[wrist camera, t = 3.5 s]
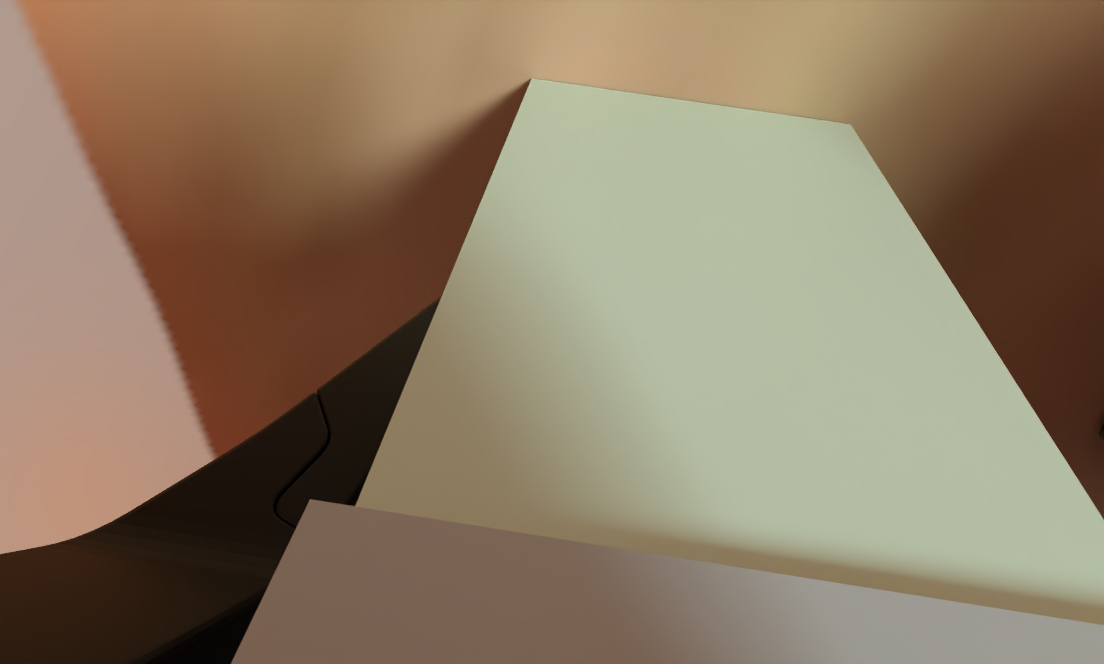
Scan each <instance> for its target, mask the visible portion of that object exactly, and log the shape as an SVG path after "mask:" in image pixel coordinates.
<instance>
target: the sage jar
mask: <svg viewBox="0 0 1104 664" xmlns="http://www.w3.org/2000/svg"><path fill="white" fill-rule="evenodd" d="M231 664H1104V519H1103V518H1102V516H1101V515H1100V513H1099V512H1098V510H1097V508H1096V507H1095V505H1094V504H1093V502H1092V501H1091V499H1090V498H1089V496H1088V494H1087V493H1086V491H1085V490H1084V488H1083V487H1082V485H1081V483H1080V482H1079V480H1078V479H1077V477H1076V476H1075V474H1074V473H1073V471H1072V469H1071V468H1070V466H1069V465H1068V463H1067V462H1066V460H1065V458H1064V457H1063V455H1062V454H1061V452H1060V451H1059V449H1058V448H1057V446H1056V444H1055V443H1054V441H1053V440H1052V438H1051V437H1050V435H1049V433H1048V432H1047V430H1046V429H1045V427H1044V426H1043V424H1042V423H1041V421H1040V419H1039V418H1038V416H1037V415H1036V413H1035V412H1034V410H1033V408H1032V407H1031V405H1030V404H1029V402H1028V401H1027V399H1026V398H1025V396H1024V394H1023V393H1022V391H1021V390H1020V388H1019V387H1018V385H1017V384H1016V382H1015V380H1014V379H1013V377H1012V376H1011V374H1010V373H1009V371H1008V369H1007V368H1006V366H1005V365H1004V363H1003V362H1002V360H1001V359H1000V357H999V355H998V354H997V352H996V351H995V349H994V348H993V346H992V344H991V343H990V341H989V340H988V338H987V337H986V335H985V334H984V332H983V330H982V329H981V327H980V326H979V324H978V323H977V321H976V319H975V318H974V316H973V315H972V313H971V312H970V310H969V309H968V307H967V305H966V304H965V302H964V301H963V299H962V298H961V296H960V294H959V293H958V291H957V290H956V288H955V287H954V285H953V284H952V282H951V280H950V279H949V277H948V276H947V274H946V273H945V271H944V269H943V268H942V266H941V265H940V263H939V262H938V260H937V259H936V257H935V255H934V254H933V252H932V251H931V249H930V248H929V246H928V244H927V243H926V241H925V240H924V238H923V237H922V235H921V234H920V232H919V230H918V229H917V227H916V226H915V224H914V223H913V221H912V220H911V218H910V216H909V215H908V213H907V212H906V210H905V209H904V207H903V205H902V204H901V202H900V201H899V199H898V198H897V196H896V195H895V193H894V191H893V190H892V188H891V187H890V185H889V184H888V182H887V180H886V179H885V177H884V176H883V174H882V173H881V171H880V170H879V168H878V166H877V165H876V163H875V162H874V160H873V159H872V157H871V155H870V154H869V152H868V151H867V149H866V148H865V146H864V145H863V143H862V141H861V140H860V138H859V137H858V135H857V134H856V132H855V130H854V129H853V127H852V126H851V124H845V123H838V122H831V121H824V120H818V119H811V118H804V117H797V116H790V115H783V114H776V113H769V112H762V111H755V110H748V109H741V108H734V107H727V106H720V105H713V104H706V103H699V102H692V101H686V100H679V99H672V98H665V97H658V96H651V95H644V94H637V93H630V92H623V91H616V90H609V89H602V88H595V87H588V86H581V85H574V84H567V83H560V82H554V81H547V80H540V79H533V78H532V79H531V81H530V84H529V86H528V88H527V91H526V93H525V96H524V98H523V101H522V103H521V105H520V108H519V110H518V113H517V115H516V118H515V120H514V122H513V125H512V127H511V130H510V132H509V135H508V137H507V139H506V142H505V144H504V147H503V149H502V152H501V154H500V156H499V159H498V161H497V164H496V166H495V169H494V171H493V173H492V176H491V178H490V181H489V183H488V185H487V188H486V190H485V193H484V195H483V198H482V200H481V202H480V205H479V207H478V210H477V212H476V215H475V217H474V219H473V222H472V224H471V227H470V229H469V232H468V234H467V236H466V239H465V241H464V244H463V246H462V249H461V251H460V253H459V256H458V258H457V261H456V263H455V265H454V268H453V270H452V273H451V275H450V278H449V280H448V282H447V285H446V287H445V290H444V292H443V295H442V297H441V299H440V302H439V304H438V307H437V309H436V312H435V314H434V316H433V319H432V321H431V324H430V326H429V329H428V331H427V333H426V336H425V338H424V341H423V343H422V345H421V348H420V350H419V353H418V355H417V358H416V360H415V362H414V365H413V367H412V370H411V372H410V375H409V377H408V379H407V382H406V384H405V387H404V389H403V392H402V394H401V396H400V399H399V401H398V404H397V406H396V409H395V411H394V413H393V416H392V418H391V421H390V423H389V425H388V428H387V430H386V433H385V435H384V438H383V440H382V442H381V445H380V447H379V450H378V452H377V455H376V457H375V459H374V462H373V464H372V467H371V469H370V472H369V474H368V476H367V479H366V481H365V484H364V486H363V489H362V491H361V493H360V496H359V498H358V501H357V503H356V506H349V505H343V504H337V503H330V502H324V501H318V500H312V499H310V500H309V503H308V505H307V507H306V509H305V511H304V513H303V515H302V517H301V519H300V521H299V523H298V525H297V527H296V530H295V532H294V534H293V536H292V538H291V540H290V542H289V544H288V546H287V548H286V550H285V552H284V554H283V557H282V559H281V561H280V563H279V565H278V567H277V569H276V571H275V573H274V575H273V577H272V579H271V581H270V584H269V586H268V588H267V590H266V592H265V594H264V596H263V598H262V600H261V602H260V604H259V606H258V608H257V611H256V613H255V615H254V617H253V619H252V621H251V623H250V625H249V627H248V629H247V631H246V633H245V636H244V638H243V640H242V642H241V644H240V646H239V648H238V650H237V652H236V654H235V656H234V658H233V660H232V663H231Z"/></svg>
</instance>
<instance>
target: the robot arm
mask: <svg viewBox="0 0 1104 664" xmlns="http://www.w3.org/2000/svg"><path fill="white" fill-rule="evenodd" d="M441 297H442V296H441ZM441 297H440V298H439V299H437V300H436V301H435V302H433V303H432V304H431V305H429V306H428V307H427V308H425V309H424V310H423V311H421V312H420V313H419V314H417V315H416V316H415V317H413V318H412V319H411V320H409V321H408V322H407V323H405V324H404V325H403V326H401V327H400V328H399V329H397V330H396V331H395V332H393V333H392V334H391V335H389V336H388V337H387V338H385V339H384V340H383V341H381V342H380V343H379V344H377V345H376V346H375V347H373V348H372V349H371V350H369V351H368V352H367V353H365V354H364V355H363V356H361V357H360V358H359V359H357V360H356V361H355V362H353V363H352V364H351V365H349V366H348V367H347V368H345V369H344V370H343V371H341V372H340V373H339V374H337V375H336V376H335V377H333V378H332V379H331V380H329V381H328V382H327V383H325V384H324V385H323V386H321V387H320V388H319V389H318V390H317V394H316V393H312V394H310V395H309V396H308V397H306V398H305V399H304V400H302V401H301V402H300V403H298V404H297V405H296V406H294V407H293V408H292V409H290V410H289V411H288V412H286V413H285V414H283V415H282V416H280V417H279V418H278V419H276V420H275V421H273V422H272V423H271V424H269V425H268V426H266V427H265V428H264V429H262V430H261V431H259V432H258V433H256V434H254V435H253V436H251V437H250V438H248V439H247V440H245V441H244V442H242V443H240V444H239V445H237V446H236V447H234V448H233V449H231V450H229V451H228V452H226V453H225V454H223V455H222V456H220V457H218V458H217V459H215V460H213V461H212V462H210V463H208V464H207V465H205V466H204V467H202V468H200V469H199V470H197V471H195V472H194V473H192V474H190V475H189V476H187V477H186V478H184V479H182V480H181V481H179V482H177V483H176V484H174V485H172V486H171V487H169V488H167V489H166V490H164V491H163V492H161V493H159V494H158V495H156V496H154V497H153V498H151V499H149V500H148V501H146V502H144V503H143V504H141V505H140V506H138V507H136V508H135V509H133V510H131V511H130V512H128V513H126V514H124V515H123V516H121V517H119V518H117V519H116V520H114V521H112V522H110V523H108V524H106V525H104V526H102V527H100V528H98V529H95V530H93V531H91V532H88V533H86V534H83V535H81V536H78V537H75V538H73V539H70V540H66V541H62V542H59V543H56V544H51V545H47V546H42V547H37V548H31V549H27V550H21V551H16V552H10V553H5V554H0V664H231V663H232V660H233V658H234V656H235V654H236V652H237V650H238V648H239V646H240V644H241V642H242V640H243V638H244V636H245V633H246V631H247V629H248V627H249V625H250V623H251V621H252V619H253V617H254V615H255V613H256V611H257V608H258V606H259V604H260V602H261V600H262V598H263V596H264V594H265V592H266V590H267V588H268V586H269V584H270V581H271V579H272V577H273V575H274V573H275V571H276V569H277V567H278V565H279V563H280V561H281V559H282V557H283V554H284V552H285V550H286V548H287V546H288V544H289V542H290V540H291V538H292V536H293V534H294V532H295V530H296V527H297V525H298V523H299V521H300V519H301V517H302V515H303V513H304V511H305V509H306V507H307V505H308V503H309V500H310V499H312V500H318V501H324V502H330V503H337V504H343V505H349V506H356V503H357V501H358V498H359V496H360V493H361V491H362V489H363V486H364V484H365V481H366V479H367V476H368V474H369V472H370V469H371V467H372V464H373V462H374V459H375V457H376V455H377V452H378V450H379V447H380V445H381V442H382V440H383V438H384V435H385V433H386V430H387V428H388V425H389V423H390V421H391V418H392V416H393V413H394V411H395V409H396V406H397V404H398V401H399V399H400V396H401V394H402V392H403V389H404V387H405V384H406V382H407V379H408V377H409V375H410V372H411V370H412V367H413V365H414V362H415V360H416V358H417V355H418V353H419V350H420V348H421V345H422V343H423V341H424V338H425V336H426V333H427V331H428V329H429V326H430V324H431V321H432V319H433V316H434V314H435V312H436V309H437V307H438V304H439V302H440V299H441ZM1099 436H1100V439H1101V440H1102V441H1103V443H1104V425H1103V426H1102V427H1101V429H1100V431H1099Z"/></svg>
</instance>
